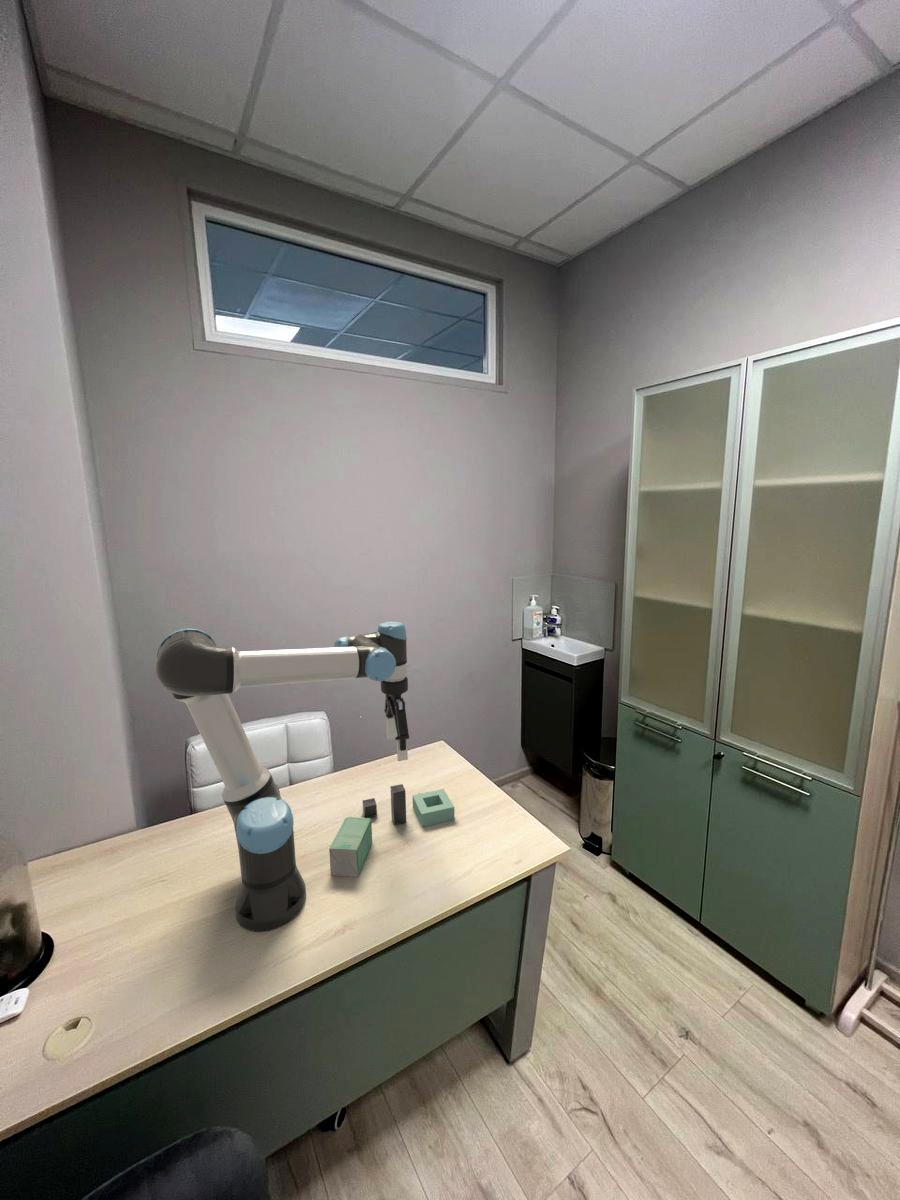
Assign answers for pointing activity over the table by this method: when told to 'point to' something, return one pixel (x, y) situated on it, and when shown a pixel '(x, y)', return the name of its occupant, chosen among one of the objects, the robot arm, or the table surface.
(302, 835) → the table surface
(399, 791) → the long pin
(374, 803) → the short pin
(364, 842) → the box
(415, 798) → the hole block
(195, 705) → the robot arm
